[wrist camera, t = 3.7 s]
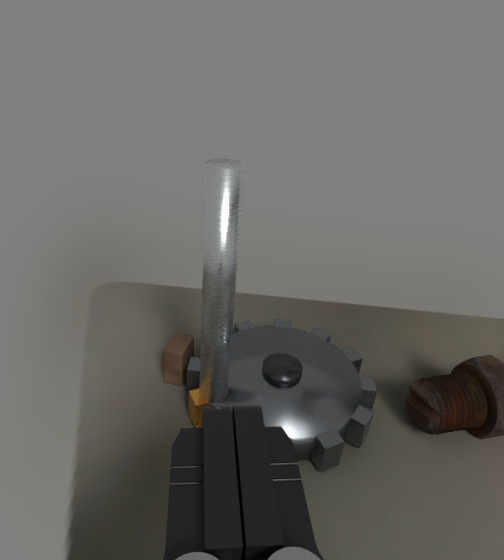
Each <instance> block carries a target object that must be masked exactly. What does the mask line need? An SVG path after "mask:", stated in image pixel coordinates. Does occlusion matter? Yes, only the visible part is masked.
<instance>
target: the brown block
mask: <svg viewBox="0 0 504 560" xmlns="http://www.w3.org/2000/svg"><path fill="white" fill-rule="evenodd" d="M191 357H194V336H191V335H186V334H182V333H178V332H176V334H175V335H174V336H173V338H172V339H171V341H170V342H169V344H168V345H167V347H166V348H165V350H164V382H167V383H171V384H175V385H179V386H182V385H183V384H184V382H185V380H186V378H187V368H188V365H189V361H190V358H191Z"/></svg>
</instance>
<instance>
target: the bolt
mask: <svg viewBox="0 0 504 560" xmlns="http://www.w3.org/2000/svg"><path fill="white" fill-rule="evenodd" d="M409 388H410V389H411V390H412V391H411V390H410V394H409V395H408V396H406V406H407V409H408V411H409V413H410V415H411V417H412V418H413V420H414V422H415V423H416V424H417V426H419V427H420V428H421V429H422V430H423V431H424V432H426V433H428V434H432V435H433V434H442V433H446V432H453V431H458V430H464V429H468V430H469V431H470V432H471V433H472V434H473V435H475V436H476V437H478V438H480V439H484V438H490V437H495V436H500V435H504V363H503V362H501V361H500V360H498V359H496V358H495V357H493V356H491V355H487V356H479V357H473V358H471V359H469V360H466V361H464V362H462V363H460V364H458V365H457V366H456V367H454V369H453V370H452V372H451V374H449V375H443V376H442V375H441V376H434V377H428V378H422V379H420V380H415V381H414V382H413V383H411V384H410V385H409Z"/></svg>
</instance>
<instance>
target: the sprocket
mask: <svg viewBox="0 0 504 560" xmlns="http://www.w3.org/2000/svg"><path fill="white" fill-rule="evenodd" d="M243 174H244V164H243V163H241V162H239V161H236V160H232V159H211V160H208V161H207V162H206V177H205V211H204V212H205V213H204V245H203V280H202V315H201V349H200V358H197V357H191V358H190V361H189V365H188V368H187V392H189V416H190V418H191V420H192V422H193V425H194V427H195V428H200V427H202V413H203V406H231V410H232V407H233V406H261V408H262V413H263V419H264V425H265V427H276V426H281V427H282V428H283V429H284V431H285V432H286V434H287V435H288V436H289V438H290V439H291V441H292V442H293V445H294V449H295V454H296V458H297V461H300V460H306V459H311V460H312V461H313V463H314V464H315V466H316V467H317V469H318V470H319V472H321V471H324V470H326V469H329V468H331V467H334V466H336V465H339V461H340V457H341V454H342V450H343V446H344V443H345V441H347V442H349V443H351V444H352V445H354V446H356V447H358V448H359V447H360V446H361V444H362V442H363V440H364V439H365V437H366V435H367V433H368V430H369V426H370V423H371V420H372V416H373V413H374V412H372V411H371V410H372V406H373V403H374V400H375V396H376V393H377V389H376V385H375V381H374V377H365V376H359V370H360V366H361V362H362V358H361V357H360V356H359V355H358V354H357V353H356V352H355V351H354V350H353V349H352V348H347V349H344V350H339V349H338V348H337V347H335V346H334V345H333V344H331V343H329V342H330V337H331V334H330V333H328V332H325V331H323V330H321V329H319V328H315V329H314V330H312V331H311V332H310V333H308V332H305V331H301V330H297V329H293V328H292V321H288V320H279V319H275V321H274V326H264V327H255V325H254V324H253V323H252V321H251V320H249V321H244V322H239V323H235V328H234V333H233V334H232V327H233V313H234V299H235V284H236V271H237V256H238V243H239V229H240V215H241V202H242V188H243ZM344 440H345V441H344Z"/></svg>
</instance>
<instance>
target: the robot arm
mask: <svg viewBox="0 0 504 560" xmlns="http://www.w3.org/2000/svg"><path fill="white" fill-rule="evenodd" d="M163 560H324V559H323V558H322V556H321V555H320V553H319V551H318V549H317V546H316V543H315V540H314V535H313V531H312V526H311V522H310V517H309V513H308V508H307V504H306V499H305V494H304V490H303V485H302V481H301V476H300V472H299V467H298V465H297V458H296V454H295V449H294V445H293V442H292V441H291V439H290V438H289V436H288V435H287V434H286V432H285V431H284V429H283V428H282V427H281V426H276V427H265V425H264V419H263V413H262V408H261V406H233V407H232V410H231V406H203V413H202V428H182V429H181V431H180V433H179V434H178V436H177V438H176V440H175V442H174V443H173V445H172V457H171V473H170V489H169V504H168V520H167V536H166V550H165V556H164V559H163Z"/></svg>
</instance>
